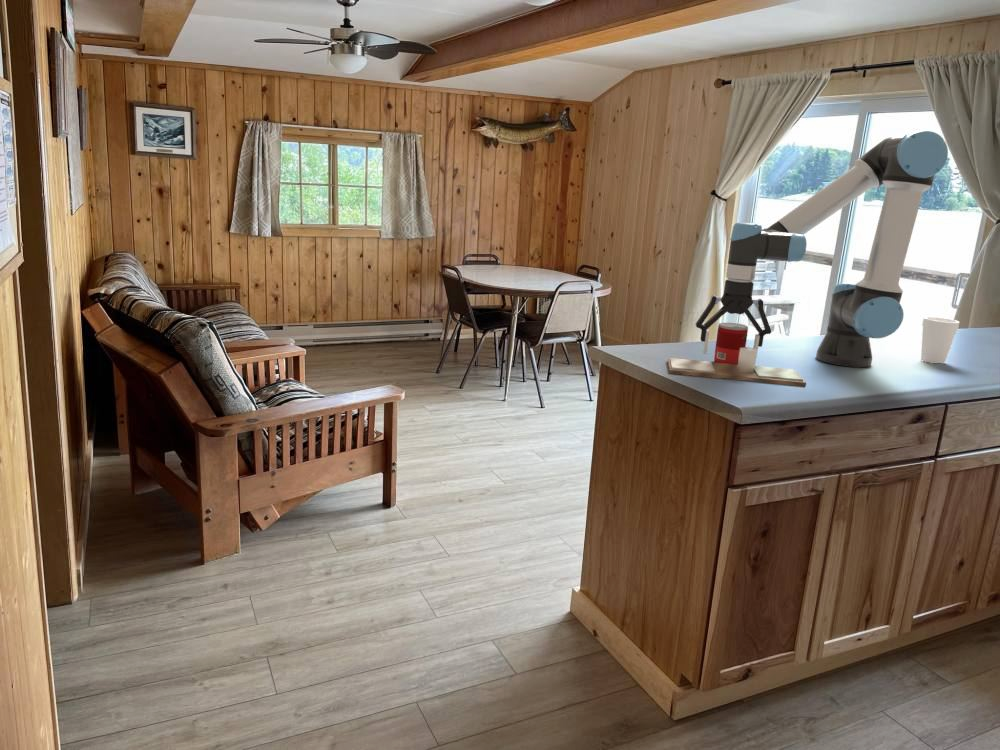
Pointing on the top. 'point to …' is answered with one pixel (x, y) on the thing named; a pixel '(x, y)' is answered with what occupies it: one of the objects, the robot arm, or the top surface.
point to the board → (734, 372)
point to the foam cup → (937, 338)
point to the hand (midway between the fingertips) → (729, 355)
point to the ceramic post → (747, 360)
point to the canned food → (730, 342)
